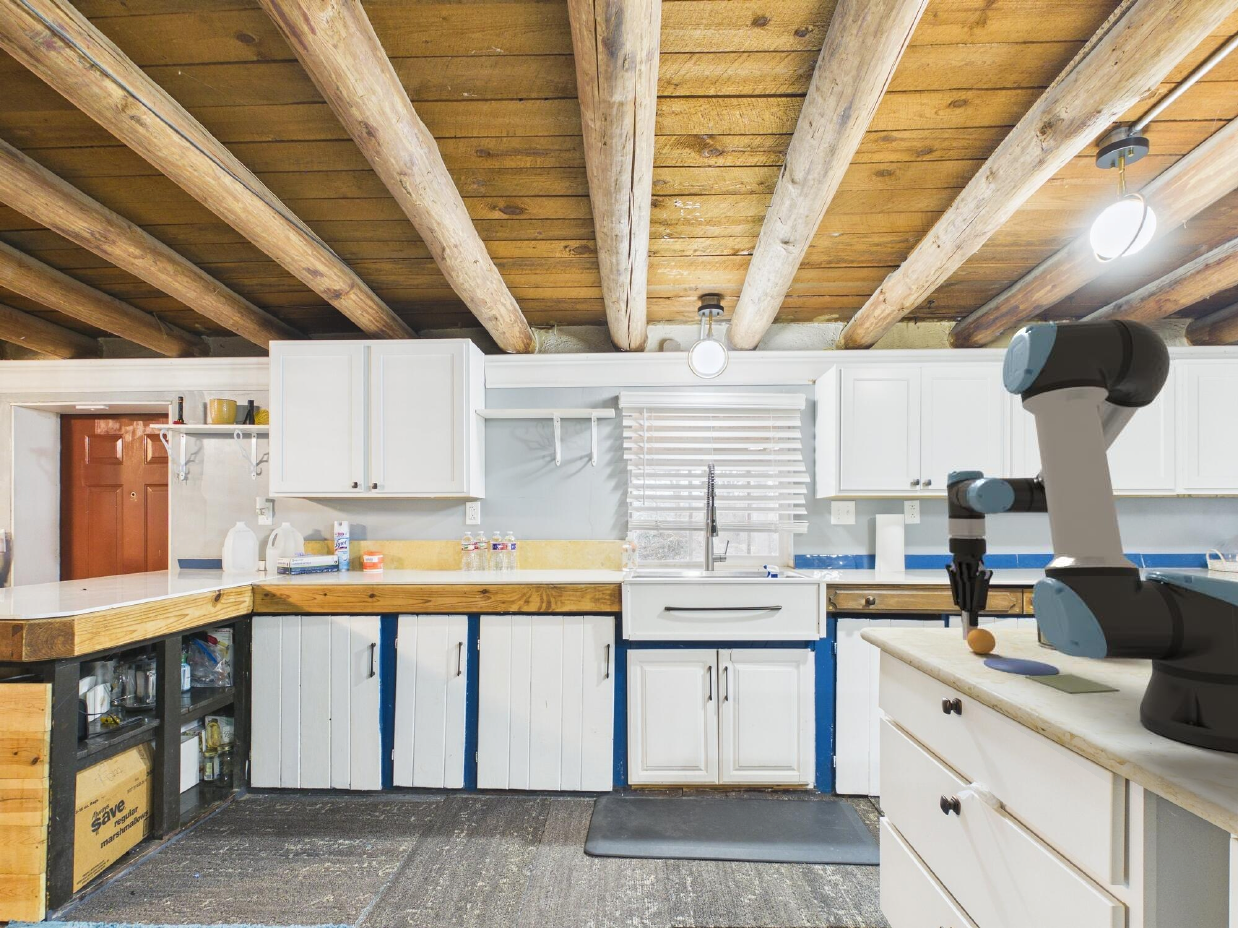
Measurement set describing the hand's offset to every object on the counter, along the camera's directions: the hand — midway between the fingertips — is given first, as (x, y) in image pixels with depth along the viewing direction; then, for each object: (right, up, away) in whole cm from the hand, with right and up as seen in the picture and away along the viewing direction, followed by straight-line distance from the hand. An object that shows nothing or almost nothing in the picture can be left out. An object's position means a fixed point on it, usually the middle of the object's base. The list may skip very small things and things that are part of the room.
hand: (970, 639), depth 140 cm
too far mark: (+3, -1, -27) cm, 27 cm away
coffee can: (+23, -3, +2) cm, 23 cm away
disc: (+2, -1, -15) cm, 15 cm away
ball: (0, +1, -3) cm, 3 cm away
